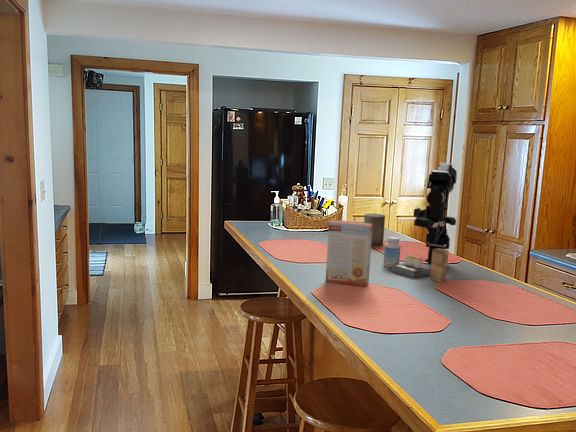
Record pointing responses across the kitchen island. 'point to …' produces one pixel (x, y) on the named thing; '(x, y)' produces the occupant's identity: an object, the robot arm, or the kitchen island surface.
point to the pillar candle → (376, 227)
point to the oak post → (439, 264)
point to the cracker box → (349, 252)
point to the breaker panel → (411, 270)
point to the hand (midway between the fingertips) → (433, 243)
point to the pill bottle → (392, 252)
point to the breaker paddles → (413, 261)
